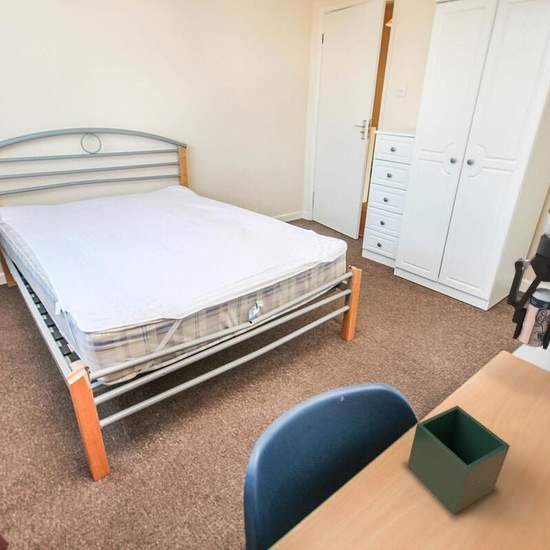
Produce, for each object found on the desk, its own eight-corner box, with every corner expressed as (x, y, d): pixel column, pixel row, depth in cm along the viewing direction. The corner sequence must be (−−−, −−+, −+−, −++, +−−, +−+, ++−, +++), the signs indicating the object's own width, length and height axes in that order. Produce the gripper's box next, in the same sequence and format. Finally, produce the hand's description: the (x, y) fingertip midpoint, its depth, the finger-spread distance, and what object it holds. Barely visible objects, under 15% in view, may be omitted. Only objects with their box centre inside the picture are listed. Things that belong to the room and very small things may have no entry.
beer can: (533, 350, 79) (551, 299, 74) (512, 339, 83) (527, 289, 78) (548, 345, 80) (566, 295, 76) (526, 334, 84) (542, 285, 80)
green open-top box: (445, 448, 72) (457, 405, 67) (492, 491, 64) (510, 445, 60) (406, 468, 68) (417, 423, 63) (452, 517, 60) (468, 469, 55)
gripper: (507, 231, 75) (480, 332, 84) (625, 253, 64) (579, 367, 73) (516, 224, 80) (490, 320, 89) (627, 243, 69) (584, 350, 78)
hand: (530, 341), depth 81 cm, fingers closed on beer can, 5 cm apart
